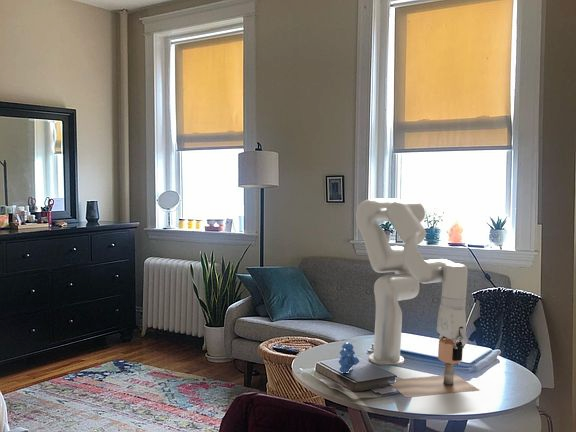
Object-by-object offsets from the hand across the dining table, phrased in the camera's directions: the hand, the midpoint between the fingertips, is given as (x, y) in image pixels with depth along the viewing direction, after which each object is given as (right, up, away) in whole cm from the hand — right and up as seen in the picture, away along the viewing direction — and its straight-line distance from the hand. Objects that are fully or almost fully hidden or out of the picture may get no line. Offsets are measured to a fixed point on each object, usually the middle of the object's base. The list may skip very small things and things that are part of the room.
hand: (450, 355), depth 189 cm
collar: (0, -1, 0) cm, 1 cm away
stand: (-6, -11, -1) cm, 12 cm away
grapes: (-32, -9, +8) cm, 34 cm away
